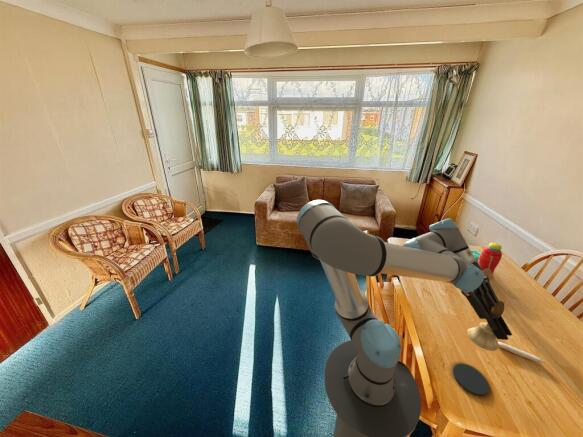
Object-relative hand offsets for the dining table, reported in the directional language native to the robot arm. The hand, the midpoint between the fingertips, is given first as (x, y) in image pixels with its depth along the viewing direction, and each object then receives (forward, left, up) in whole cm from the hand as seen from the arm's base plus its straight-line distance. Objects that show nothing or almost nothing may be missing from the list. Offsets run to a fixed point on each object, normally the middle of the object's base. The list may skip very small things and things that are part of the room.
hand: (504, 336), depth 69 cm
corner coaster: (-4, 0, -21) cm, 21 cm away
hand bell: (-1, +4, -6) cm, 7 cm away
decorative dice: (+55, +46, -17) cm, 74 cm away
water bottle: (+43, +34, -21) cm, 59 cm away
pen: (+22, +3, -21) cm, 31 cm away
